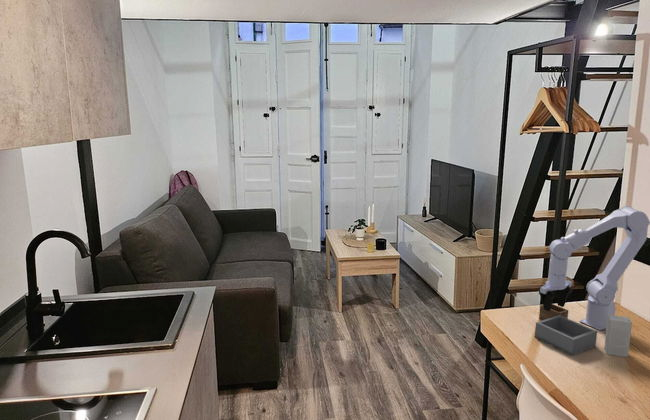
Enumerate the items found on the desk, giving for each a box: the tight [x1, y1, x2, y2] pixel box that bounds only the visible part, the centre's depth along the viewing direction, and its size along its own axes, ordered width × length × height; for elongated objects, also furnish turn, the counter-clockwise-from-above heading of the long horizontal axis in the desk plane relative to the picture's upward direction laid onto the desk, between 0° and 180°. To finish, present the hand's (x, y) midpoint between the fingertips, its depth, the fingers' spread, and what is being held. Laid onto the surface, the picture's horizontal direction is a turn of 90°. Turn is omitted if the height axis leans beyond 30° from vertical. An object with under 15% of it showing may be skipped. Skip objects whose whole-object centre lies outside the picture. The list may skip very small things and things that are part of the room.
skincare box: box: [603, 315, 633, 358], centre depth 150 cm, size 6×4×12 cm
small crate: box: [538, 303, 569, 321], centre depth 173 cm, size 5×8×6 cm, turn 27°
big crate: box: [534, 315, 598, 356], centre depth 158 cm, size 12×14×6 cm
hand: (553, 308), depth 172 cm, fingers open, 7 cm apart
